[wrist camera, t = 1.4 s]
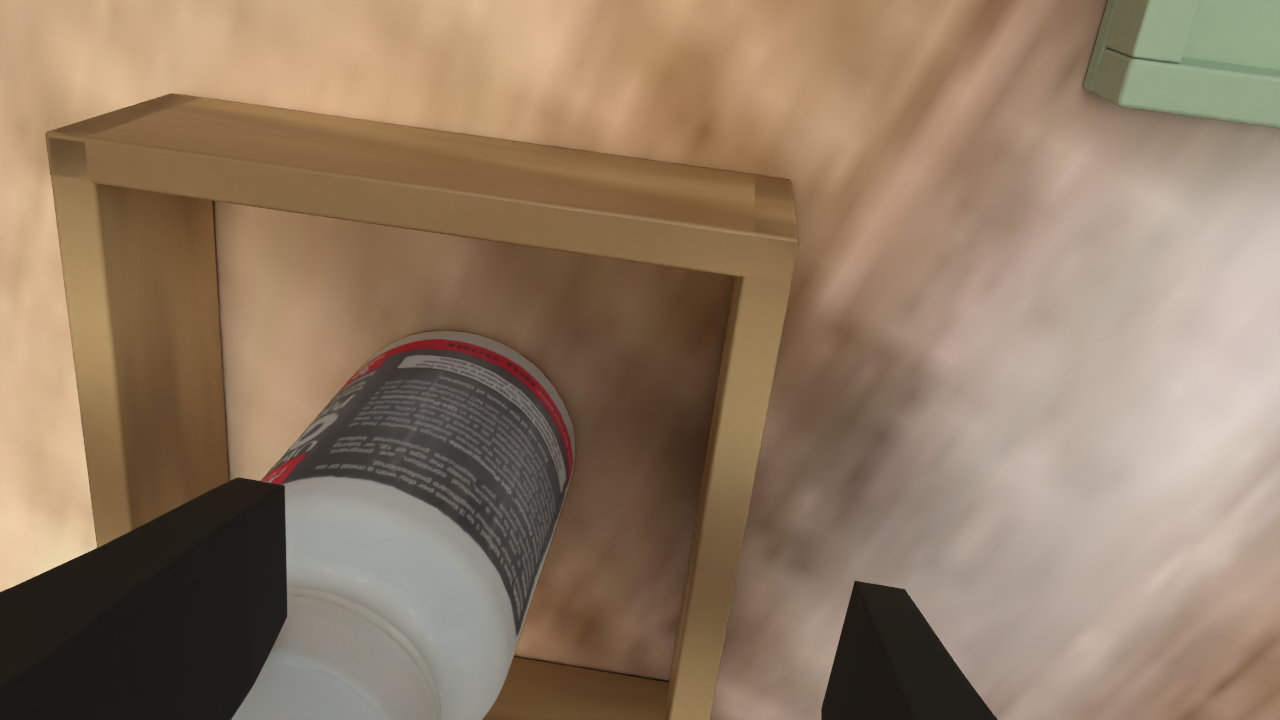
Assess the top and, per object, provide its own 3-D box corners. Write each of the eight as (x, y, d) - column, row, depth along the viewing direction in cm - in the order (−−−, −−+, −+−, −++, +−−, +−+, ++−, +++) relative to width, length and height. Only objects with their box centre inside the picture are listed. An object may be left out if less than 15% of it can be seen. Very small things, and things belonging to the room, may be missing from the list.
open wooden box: (696, 711, 26) (686, 844, 22) (209, 630, 26) (120, 746, 22) (792, 179, 20) (799, 238, 16) (169, 92, 21) (43, 131, 17)
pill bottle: (354, 299, 22) (80, 562, 13) (598, 353, 22) (489, 657, 13) (337, 508, 24) (92, 855, 15) (558, 558, 24) (442, 936, 15)
